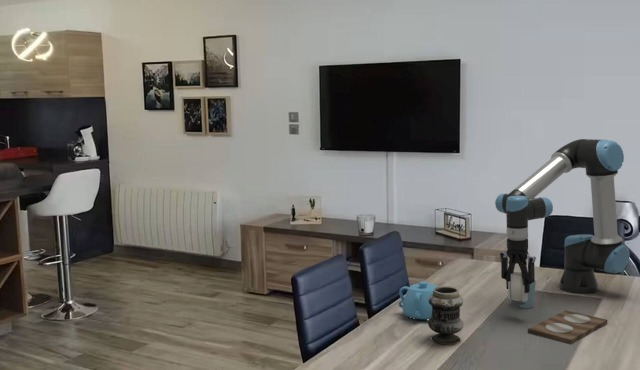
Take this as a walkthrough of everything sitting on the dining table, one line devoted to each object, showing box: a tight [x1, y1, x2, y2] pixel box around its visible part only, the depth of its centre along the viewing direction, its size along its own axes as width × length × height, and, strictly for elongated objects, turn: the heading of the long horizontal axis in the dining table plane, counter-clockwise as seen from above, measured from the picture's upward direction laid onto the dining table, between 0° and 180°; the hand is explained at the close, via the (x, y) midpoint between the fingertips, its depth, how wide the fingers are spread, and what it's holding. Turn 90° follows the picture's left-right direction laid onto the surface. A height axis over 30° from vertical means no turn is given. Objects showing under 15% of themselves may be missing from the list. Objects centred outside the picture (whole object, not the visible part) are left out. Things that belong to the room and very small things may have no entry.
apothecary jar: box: [427, 285, 464, 345], centre depth 227 cm, size 12×12×18 cm
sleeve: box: [510, 271, 525, 306], centre depth 244 cm, size 5×5×11 cm
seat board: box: [527, 309, 608, 345], centre depth 235 cm, size 27×16×2 cm, turn 132°
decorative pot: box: [398, 280, 438, 320], centre depth 252 cm, size 16×16×14 cm
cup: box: [517, 280, 537, 309], centre depth 260 cm, size 8×8×10 cm
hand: (517, 299), depth 245 cm, fingers closed on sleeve, 5 cm apart
